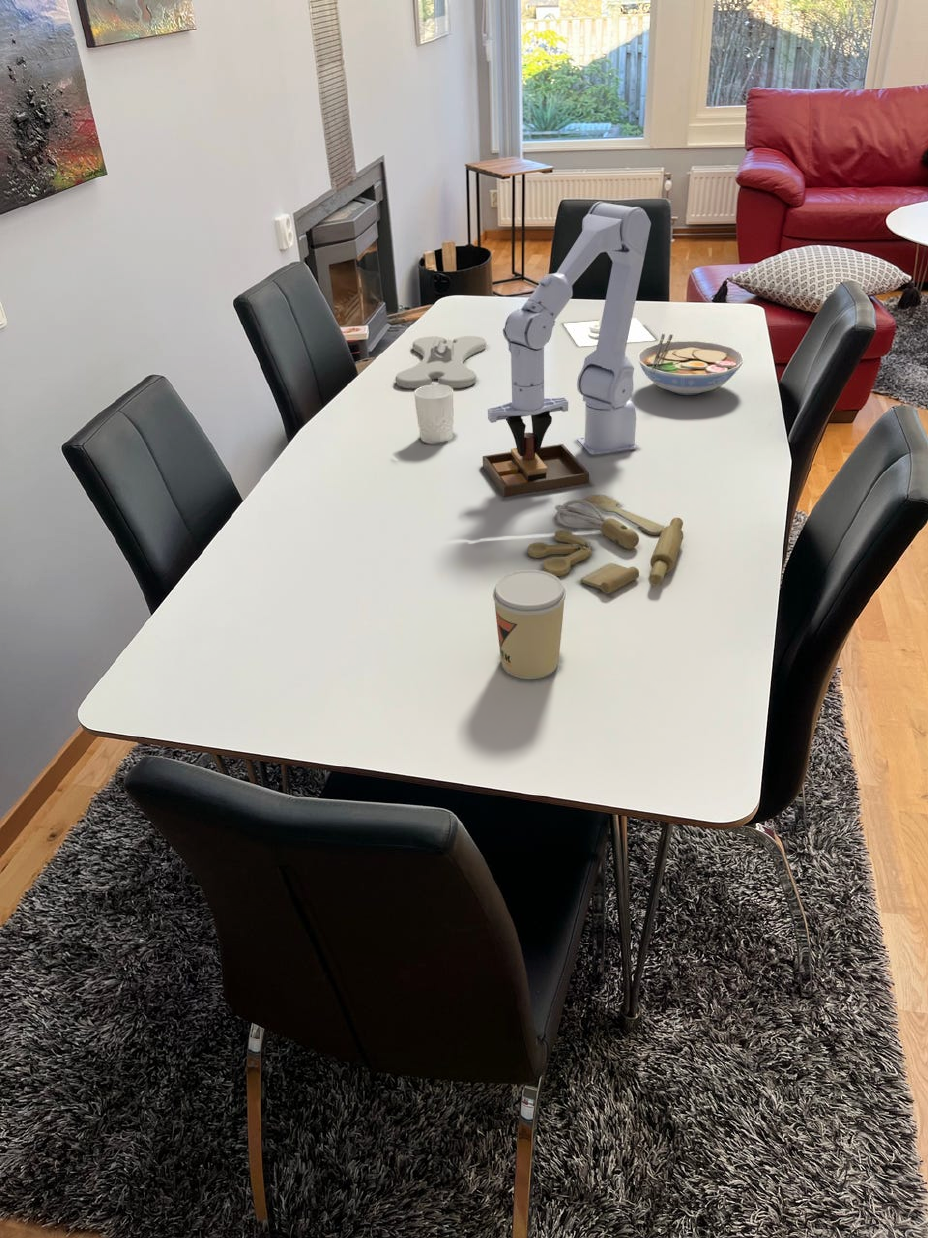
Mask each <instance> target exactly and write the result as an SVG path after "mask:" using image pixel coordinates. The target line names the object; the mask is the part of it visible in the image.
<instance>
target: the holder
mask: <svg viewBox="0 0 928 1238" xmlns="http://www.w3.org/2000/svg"><path fill="white" fill-rule="evenodd" d="M486 347H487V340H486V339H485V338H483V337H481V336H476V335H465V336H459V337H456V338H454V339H453V340H452V339H446V338H444V337H442V336H424V337H423V336H422V337H419V338H417V339H415V340H414V341H413V342H412V349H413V351H414V352H416V353H418V354H419V355H420V356H422V359H421V360H420V361H419V362H418V363H417V364H416V365H414V366H412V367H410V368H407V369H405V370H402V371H400V372H398V373H397V374H396V376H395V383H396V384H397V386H398V387H401V388H404V389H411V390H413V389H414V390H415V389H417V388H419V387H422V386H426V385H432V384H433V380H437V383H438V384H441V385H447V386H450V387H451V388H453V389H463V388H467V387H470V386H472V385H474V384H475V383H476V381H477V374H476V373H475V371H474V370H471V369H470V368H468V367H467V366H465V364H464V362H465V361H466V359H468V358H469V357H470V356H472V355H474V354H477V353H480V352H482V351H484V350H485V349H486Z"/></svg>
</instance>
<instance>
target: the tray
mask: <svg viewBox="0 0 928 1238" xmlns="http://www.w3.org/2000/svg"><path fill="white" fill-rule="evenodd" d="M537 455H538V457H539V458H540V459H541V460H542V462H543V463H544V464H545V465H546V467H547V473H546V478H545V479H539V480H533V481H528V480H527V479H526V478H525V476H524V475H523V474H522V472H521V471H520V470H519V468H518V467H517V466H516V464H515V463H514V461H513V460H512V454H511V451H508V452H501V453H495V454H488V455H482V467H483V469H484V470H485V472H486V473H487V475H488V476H489V478H490V479H491V480H492V482H493V484H494V485H495V486H496V488H497V489H498V490H499V493H501V495H502V496H503V498H510V497H516V496H523V495H528V494H535V493H540V492H546V491H553V490H560V489H564V488H571V487H572V488H573V487H577V486H578V487H579V486H583V485H589V484H590V472H589V470H587V469H586V468H585V466H584V465H583V464H582V463H581V462H580V461H579V460H578V458H576V457H575V455H573V453H572V452H571V451H570V450H569V449H568V448H567V447H566V446H565V444H564V443H559V444H552V445H546V446H541V449H540V453H538V454H537ZM506 461H513V463H514V464H515V466H516V467H517V468H518V473H521V474H522V475H523V476H524V478H525V479H526V480H527V482H525V483H518V484H512V485H507V486H506V484H505V483H504V481H503V480H502V479H501V477H500V476H499V474H498V473H497V472H496V470H495V469H494V467H493V466H492V464H493V463H500V462H506Z"/></svg>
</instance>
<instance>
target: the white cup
mask: <svg viewBox="0 0 928 1238" xmlns="http://www.w3.org/2000/svg"><path fill="white" fill-rule="evenodd" d="M413 396H414V405H415V412H416V419H417V425H418V429H419V437H420V440H421V442H423V443H426V444H430V445H434V444H440V443H444V442H449V441H452V440H453V438H454V420H455V419H454V413H455V409H454V407H455V406H454V388H451V387H450V386H447V385H441V384H439V383H438V384H437V383H436V384H435V383H434V384H433V383H431V384H430V385H426V386H422V387H419V388H415V389H414V391H413Z"/></svg>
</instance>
